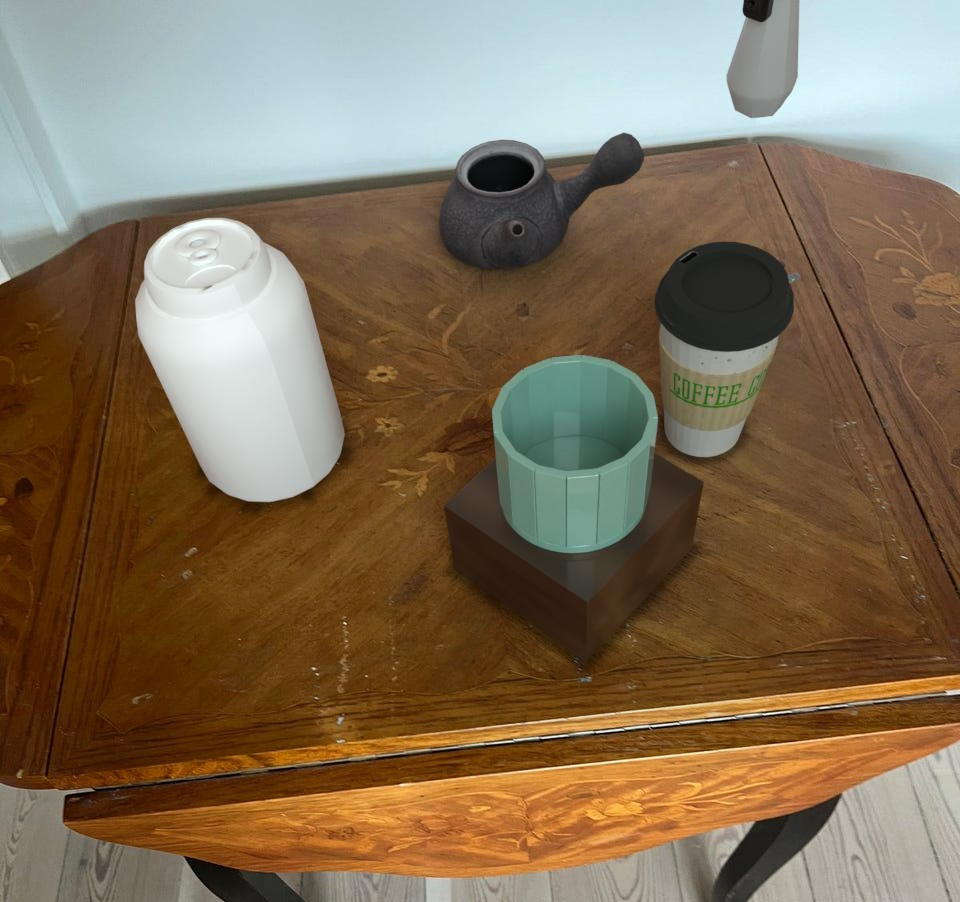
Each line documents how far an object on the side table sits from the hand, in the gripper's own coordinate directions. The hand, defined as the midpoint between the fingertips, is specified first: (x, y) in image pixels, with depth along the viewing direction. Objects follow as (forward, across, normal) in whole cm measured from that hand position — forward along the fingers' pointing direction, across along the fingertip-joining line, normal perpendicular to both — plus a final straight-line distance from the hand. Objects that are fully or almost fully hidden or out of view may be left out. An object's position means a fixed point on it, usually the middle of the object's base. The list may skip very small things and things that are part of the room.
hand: (774, 2), depth 79 cm
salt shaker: (+8, 0, 0) cm, 8 cm away
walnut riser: (+20, -41, -13) cm, 47 cm away
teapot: (+20, -14, +13) cm, 28 cm away
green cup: (+12, -41, -13) cm, 45 cm away
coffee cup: (+20, -24, -13) cm, 34 cm away
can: (+20, -48, +14) cm, 54 cm away
